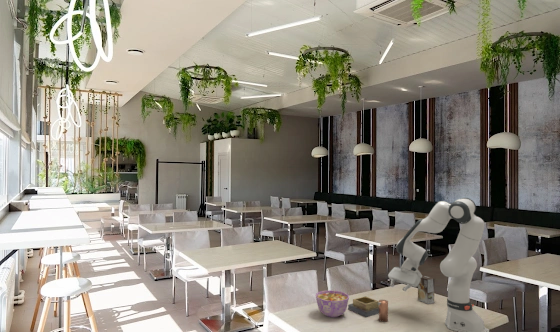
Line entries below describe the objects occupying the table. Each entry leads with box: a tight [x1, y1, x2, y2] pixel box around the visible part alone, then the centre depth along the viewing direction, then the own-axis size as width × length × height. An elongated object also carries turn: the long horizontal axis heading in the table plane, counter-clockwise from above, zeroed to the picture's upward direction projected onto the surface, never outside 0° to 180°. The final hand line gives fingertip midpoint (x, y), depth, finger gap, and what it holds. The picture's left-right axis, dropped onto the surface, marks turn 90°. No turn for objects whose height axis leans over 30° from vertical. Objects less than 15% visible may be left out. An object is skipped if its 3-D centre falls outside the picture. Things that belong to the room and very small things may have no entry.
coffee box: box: [417, 274, 435, 305], centre depth 256 cm, size 9×6×16 cm
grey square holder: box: [347, 296, 379, 318], centre depth 238 cm, size 15×15×6 cm
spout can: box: [377, 299, 389, 323], centre depth 223 cm, size 5×7×11 cm
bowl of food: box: [315, 289, 350, 318], centre depth 231 cm, size 20×20×12 cm
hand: (397, 288), depth 230 cm, fingers open, 8 cm apart
